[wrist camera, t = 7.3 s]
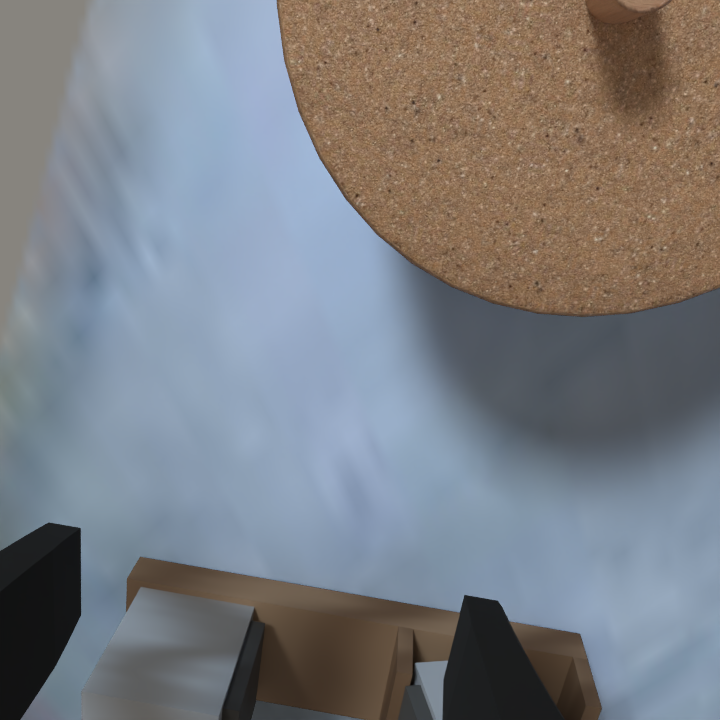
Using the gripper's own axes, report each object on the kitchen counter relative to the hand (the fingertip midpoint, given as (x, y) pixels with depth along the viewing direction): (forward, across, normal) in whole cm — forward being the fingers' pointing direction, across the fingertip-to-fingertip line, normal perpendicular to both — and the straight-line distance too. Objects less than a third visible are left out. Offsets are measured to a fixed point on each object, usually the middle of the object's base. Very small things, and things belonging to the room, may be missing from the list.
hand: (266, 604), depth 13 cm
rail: (+10, -2, +10) cm, 14 cm away
